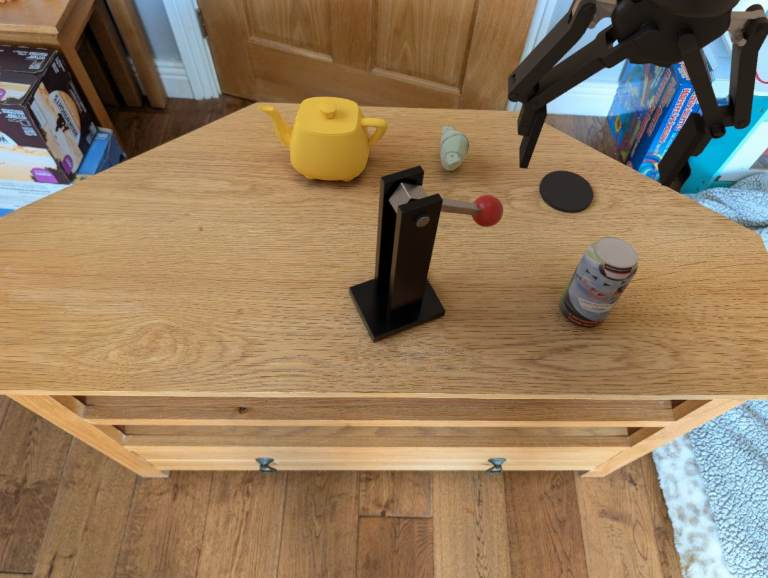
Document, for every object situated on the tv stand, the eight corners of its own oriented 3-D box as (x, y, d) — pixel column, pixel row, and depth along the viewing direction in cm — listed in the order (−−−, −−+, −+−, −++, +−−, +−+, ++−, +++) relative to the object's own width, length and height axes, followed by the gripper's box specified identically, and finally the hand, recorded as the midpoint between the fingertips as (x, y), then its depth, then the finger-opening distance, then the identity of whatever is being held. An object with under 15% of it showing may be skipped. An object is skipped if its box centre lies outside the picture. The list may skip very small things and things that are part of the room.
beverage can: (554, 327, 71) (588, 275, 61) (557, 281, 75) (589, 225, 65) (603, 338, 71) (645, 287, 61) (604, 291, 75) (643, 236, 65)
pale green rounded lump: (434, 149, 88) (439, 115, 82) (459, 149, 88) (467, 115, 82) (439, 187, 84) (446, 154, 78) (466, 187, 84) (475, 153, 78)
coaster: (602, 203, 83) (604, 201, 83) (558, 219, 81) (559, 216, 81) (572, 167, 87) (573, 164, 87) (529, 181, 85) (530, 178, 85)
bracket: (417, 268, 75) (438, 147, 57) (444, 315, 72) (476, 202, 53) (348, 292, 73) (347, 173, 54) (373, 342, 69) (381, 233, 51)
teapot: (261, 185, 82) (250, 129, 73) (272, 134, 88) (263, 75, 79) (383, 193, 82) (387, 137, 73) (386, 140, 88) (390, 83, 79)
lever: (479, 212, 66) (498, 190, 64) (495, 234, 65) (515, 212, 62) (382, 199, 56) (401, 172, 54) (397, 225, 55) (417, 198, 53)
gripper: (520, -62, 35) (463, 179, 52) (929, -16, 34) (730, 212, 52) (520, -116, 39) (466, 125, 56) (885, -75, 38) (714, 155, 56)
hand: (592, 167), depth 54 cm, fingers open, 13 cm apart
